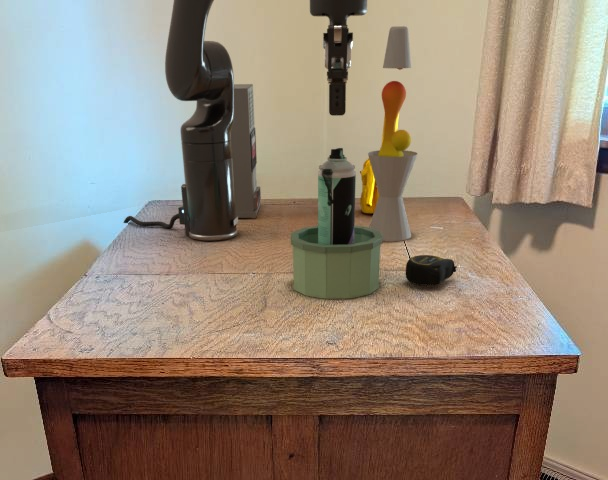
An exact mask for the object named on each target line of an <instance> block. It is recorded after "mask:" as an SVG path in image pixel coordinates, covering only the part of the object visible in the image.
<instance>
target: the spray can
mask: <svg viewBox="0 0 608 480" xmlns="http://www.w3.org/2000/svg"><path fill="white" fill-rule="evenodd" d="M326 159H327V160H325V161H324V162H323V163H322V164H320V165H318V172H317V226H318V244H324V245H349V244H354V226H355V223H356V222H355V221H356V219H355V217H356V181H357V180H356V179H357V177H356V176H357V172H356V170H355V169H356V165H355V164H352V163H351V162H350V161H348V157H346V156H345V154H344V147H336V148H331V149H330V154H329V156H328V157H327V158H326Z"/></svg>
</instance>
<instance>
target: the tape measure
mask: <svg viewBox="0 0 608 480" xmlns="http://www.w3.org/2000/svg"><path fill="white" fill-rule="evenodd" d="M457 267H458V266H457V265H455V261H454V260H453V259H451V258H442V257H440V256H438V255H433V254H432V255H431V254H419V255H413V256H411V257H410V258H409V259H408V260H407V262H406V264H405V278H406V280H407V282H409V283H412V284H414V285H418V286H439V285H441V284H443V282H444V281H446V280H448V279H450V278H451V277H452V276H453V274H454V273H457Z"/></svg>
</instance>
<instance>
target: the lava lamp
mask: <svg viewBox="0 0 608 480" xmlns="http://www.w3.org/2000/svg"><path fill="white" fill-rule="evenodd" d="M387 36H388V37H387V42H386V48H385V53H384V59H383V64H382V69H397V70H399V71H401V70H404V69H411V68H412V61H411V50H410V49H411V47H410V35H409V27H407V26H405V25H403V26H399V25H398V26H391V27H390V28H389V30H388V35H387ZM406 90H407V89H406V87H405V86H404V84H403V83H402V82H400V81H398V80H391V81H389V82H387V83H386V84H385V85H384V86H383V88H382V90H381V101H382V105H383V109H384V115H385V119H386V121H385V133H384V139H383V143H382V142H381V144H382V146H381V145H380V149H379V150H373V151H369V152H368V153H367V155H368V158H369V160H370V163H371V167H372V171H373V174H374V178H375V181H376V185H377V188H378V192H379V199H378V202H377V205H376V208H375V211H374V213H372V214H373V215H372V216H371V220H370V223H369V226H368V228H371V229H374V230H377V231H380V232H381V235H382V237H383V242H402V241H407V240H409V239H411V238H412V234H411V230H410V225H409V221H408V216H407V212H406V207H405V203H404V198H403V194H404V191H405V188H406V186H407V183H408V181H409V178H410V176H411V173H412V170H413V167H414V165H415V162H416V161H417V157H418V152H416V151H412V150H408V148H409V147H410V146H411V143H412V136H411V134H410V132H408V131H407V130H405V129H397V131H396V132H395V126H396V120H397V117H398V114H399V115H400V111H401V109H402V106H403V104H404V102H405V100H406V97H407V91H406Z"/></svg>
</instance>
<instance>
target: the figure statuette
mask: <svg viewBox="0 0 608 480" xmlns="http://www.w3.org/2000/svg"><path fill="white" fill-rule="evenodd" d="M399 116H400V113H399V114H398V117H397V120H396V126H395V132H396V131H398V128H399V127H398V125H399V118H400V117H399ZM385 121H386V119H385V114H384V115H383V126H382V135H381V145H380V147H381V146H382V143H383V139H384V133H385ZM359 173H360V176H361V178H360V179H361V182H362V183H361V189H362V191H361V194H360V198H359V199H360V200H359V204H360V208H361V212H362V213H364V214H374V211H375V208H376V205H377V202H378V199H379V192H378V188H377V185H376V181H375V178H374V174H373V171H372V167H371V163H370V160H369V157H368V158H367V159H366V160H365V161H364V162H363V166H362V170H361V171H359Z"/></svg>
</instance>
